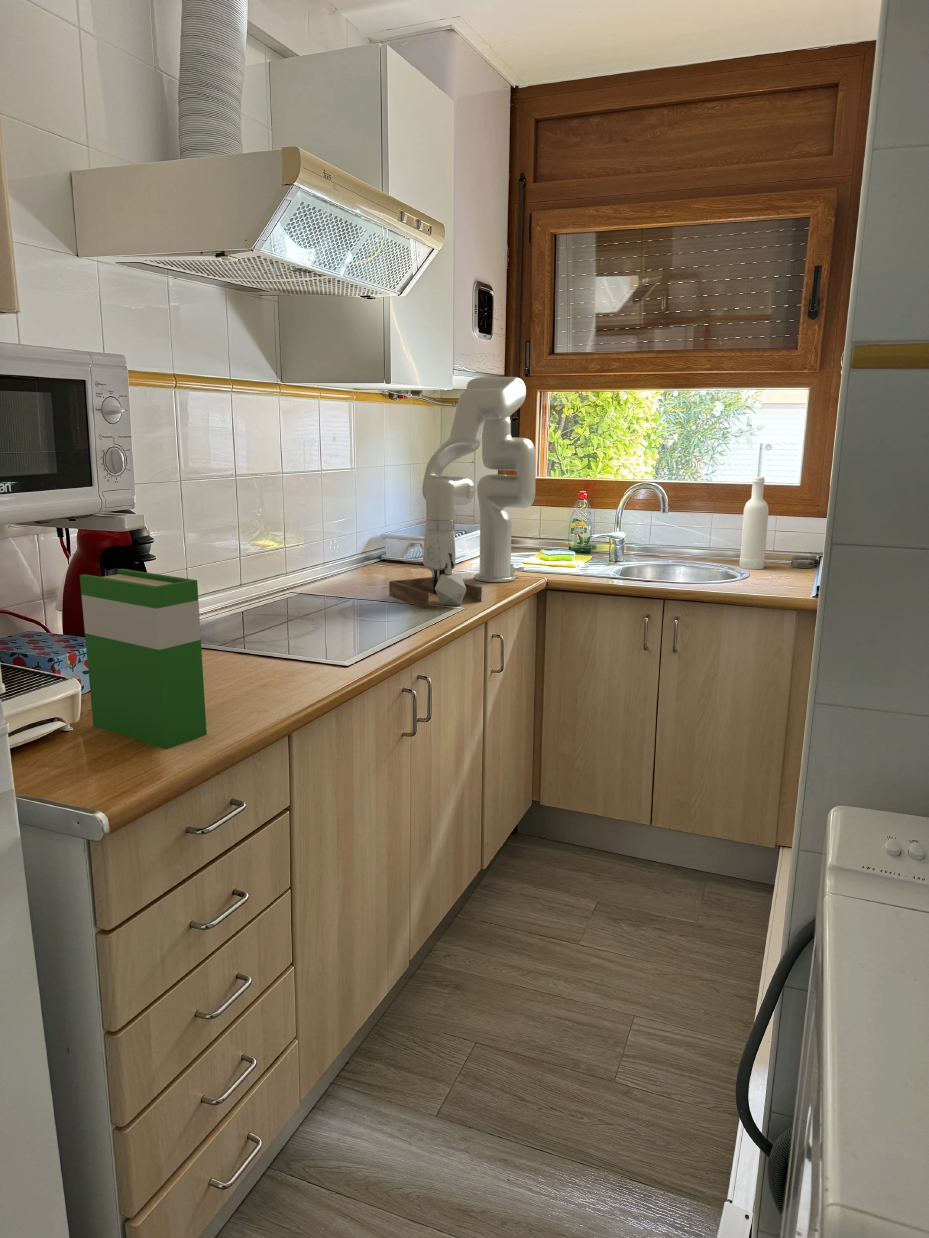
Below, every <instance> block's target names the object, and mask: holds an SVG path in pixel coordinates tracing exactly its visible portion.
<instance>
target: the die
mask: <svg viewBox="0 0 929 1238" xmlns="http://www.w3.org/2000/svg"><path fill="white" fill-rule="evenodd" d="M464 582H465V581H464V579H463V578H462V574H460V573H452V575H446V574H441V575H440V578H439V580H438V582H437V584H436V587H435V591H436V593H437V595H436V596H437V598H438V601H439V604H440V605H441V606H461V604H462V601H463V599H464V598H463V597H464V595H465V592H466V587H465V584H464Z"/></svg>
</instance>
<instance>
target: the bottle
mask: <svg viewBox="0 0 929 1238" xmlns="http://www.w3.org/2000/svg"><path fill="white" fill-rule="evenodd" d="M765 482H766V481H765V477H764V476H753V477H752V481H751V484H752V486H751V498H750V499H749V500H748V501H746V502H745V505H744V506H743V517H742V530H741V541H740V543H741V544H740V555H739V556H740V557H739V568H740V569H743V570H745V569H746V570H763V569H764V568H765V563H766V562H765V561H766V559H765V558H766V547H767V546H766V545H767V536H768V535H767V534H768V533H767V532H768V523H769V522H768V521H769V506H768V503H767V501H766V500H765V499H764V490H765V489H764V488H765Z"/></svg>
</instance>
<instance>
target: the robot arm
mask: <svg viewBox="0 0 929 1238" xmlns="http://www.w3.org/2000/svg"><path fill="white" fill-rule="evenodd" d="M526 388H527V387H526V385H525V382H524V381H523V380H522V379H521V378H519V377H518V376H517V377H516V376H483V377H482V376H481V377H476V378H472V379H470V380H469V381H468V382H467V384H466V390H464V391H463V392H462V393H460V395H459V397H458V401H457V404H456V409H455V413H454V417H453V422H452V426H451V430H450V435H449V437H448V439H447V440H446V441H445V442H444V443H443V444H441V445H440V447H438V449H436V451H435V452H434V453H433V455H432V456H431V457H430V458H429V460H428V463H427V464H426V468H425V472H424V475H423V476H424V477H423V481H422V485H421V486H422V487H421V489H422V490H421V492H422V493H421V494H422V496H423V498H424V500H425V533H424V540H423V554H422V557H423V558H422V559H423V560H422V563H423V564H422V565H423V566H424V567H426V568H428V570H429V571H430V572H431V575H432V576H431V577H432V578H433V595H435V596H437V593H436V591H435V587H436V584H437V582H438V580H439V578H440V575H441V574H446V575H452V574H453V571H452V570H454V569H455V567H456V544H455V543H456V542H455V517H456V516H455V511H456V509H455V506H465V505H468V504H470V503H471V502H472V501H473V500H474V498H475V495H476V492H477V499H478V506H479V572H477V573H475V574H474V577H473V578H474V579H475V580H476V581H479V582H485V583H487V582H488V583H506V582H513V581H515V580H517V579H516V574H514V573H516V572H523V571H524V570H525V567H524V564H519V565H518V564H517V565H515V564H513V563H512V519H511V517H510V515H509V513H508V511H507V510H506V508H512V509H513V508H517V509H519V508H520V509H521V508H522V509H526V508H529V507H531V506H532V505H533V503H534V501H535V497H536V480H537V479H536V471H537V469H536V467H537V464H536V463H537V460H536V459H537V458H536V457H537V456H536V447H535V445H534V443H533V442H532V440H530V439H529V438H526V437H512V433H511V431H512V430H511V429H512V427H511V425H512V424H511V419H510V418H511V416H512V415H513V414H514V413H515V412H516V411H517V410H519V409H520V408H521V407H522V405H523V403H524V402H525V399H526V395H527V389H526ZM480 445H481V457H482V458H481V459H482V464H483V467H485V468H487V469H490V470H494V471H496V470H497V471H515V472H516V474H515V475H514V474H495V473H493V474H487V475H483V476H482V477H480V479H479V480H478V483H477V487H476V485H475V484H474V482H473V481H472V480H471V479H470V478H468V477H464V476H451V475H450V476H447V475H442V474H443V471H444V470H445V469H446V467H448V466H449V465H450V464H452V462H455V461H456V460H458V459H461V458H462V457H464V456H467V455H469V454H472V453H474V452H475V451H477V450H478V449H479V448H480ZM434 579H435V580H434Z"/></svg>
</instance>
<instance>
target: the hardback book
mask: <svg viewBox="0 0 929 1238" xmlns="http://www.w3.org/2000/svg"><path fill="white" fill-rule="evenodd" d="M116 573H117V574H113V575H111V574H110V575H105V576H97V575H91V574H80V575H79V580H80V581H79V583H80V592H81V593H80V594H81V604H82V605H81V607H82V613H83V614H82V615H83V627H84V636H85V637H84V639H85V647H86V658H87V659H86V660H87V661H86V662H87V668H88V669H87V670H88V681H89V691H90V702H91V704H90V705H91V714H92V715H91V716H92V725H93V727H95V728H99V729H101V730H105V731H108V732H111V733H113V734H117V735H120V736H123V737H127V738H130V739H133V740H137V741H140V742H143V743H145V744H149V745H152V746H155V747H158V748H160V749H161V748H162V749H164V750H168V749H171V748H174V747H177V746H180V745H182V744H185V743H188V742H190V741H193V740H197V739H199V738H203V737H205V736H207V734H208V733H207V732H208V731H207V718H206V702H205V699H206V698H205V686H204V671H203V669H204V668H203V667H204V666H203V651H202V638H201V637H202V635H201V621H200V618H201V617H200V603H199V586H198V579H191V578H184V577H178V576H172V575H165V574H160V573H152V572H146V571H141V570H140V571H139V570H134V569H133V570H132V569H127V568H119V569H117V571H116Z"/></svg>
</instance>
